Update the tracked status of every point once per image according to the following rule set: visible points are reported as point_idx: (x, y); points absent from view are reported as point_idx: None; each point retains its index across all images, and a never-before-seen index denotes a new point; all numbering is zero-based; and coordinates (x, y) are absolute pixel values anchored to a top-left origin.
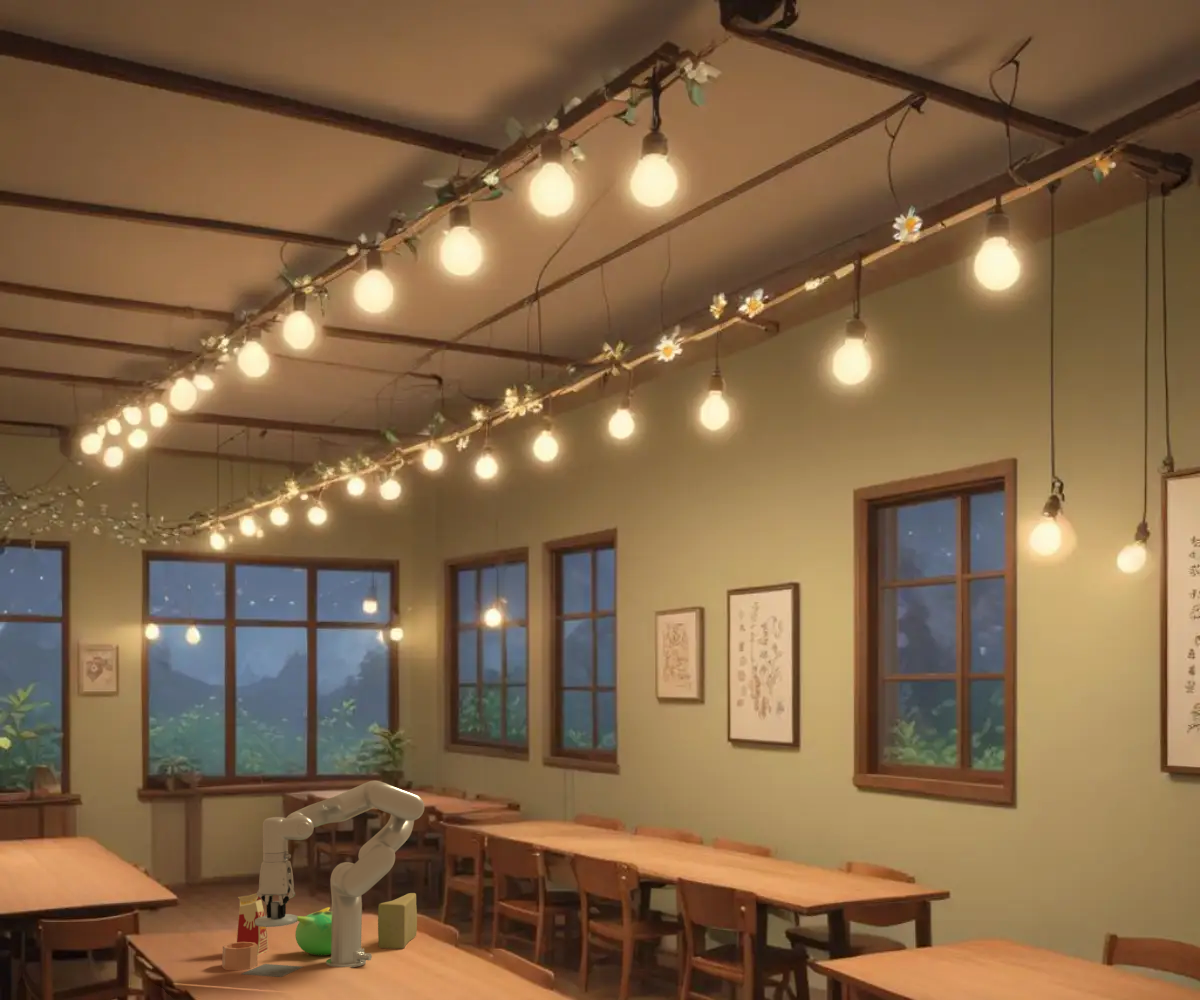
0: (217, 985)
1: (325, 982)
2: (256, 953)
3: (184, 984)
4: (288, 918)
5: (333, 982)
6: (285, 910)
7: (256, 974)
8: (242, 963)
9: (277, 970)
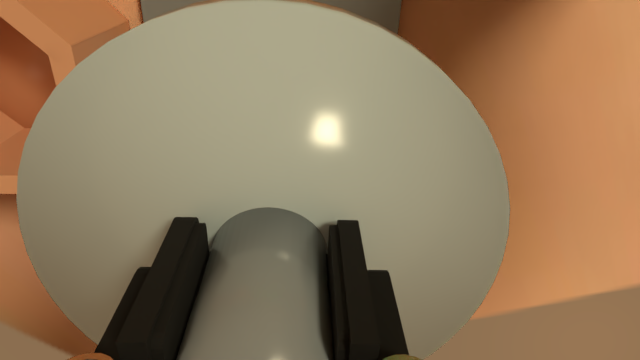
0: None
1: (587, 199)
2: (97, 46)
3: (59, 340)
4: (423, 249)
5: (622, 191)
6: (393, 300)
7: None
8: None
9: None
